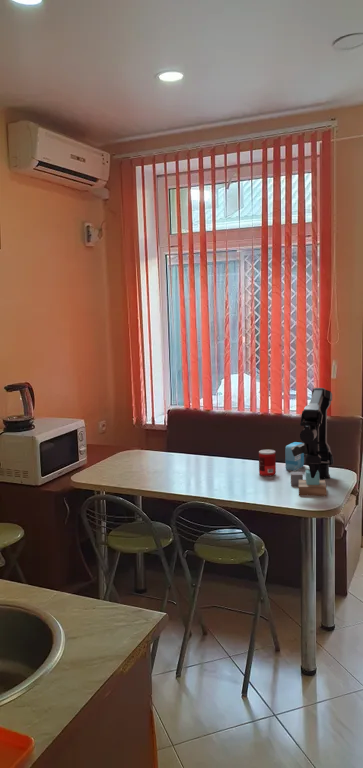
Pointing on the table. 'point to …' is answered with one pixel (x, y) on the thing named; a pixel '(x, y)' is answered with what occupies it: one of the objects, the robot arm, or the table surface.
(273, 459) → the canned food
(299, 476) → the gray cube
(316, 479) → the teal cube
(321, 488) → the walnut base block
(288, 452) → the data package
